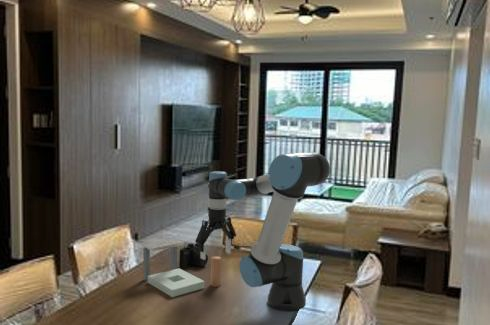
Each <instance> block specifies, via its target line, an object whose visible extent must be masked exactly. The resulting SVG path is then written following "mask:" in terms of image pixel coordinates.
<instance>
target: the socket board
mask: <svg viewBox="0 0 490 325" xmlns="http://www.w3.org/2000/svg"><path fill="white" fill-rule="evenodd" d="M147 283H148V284H149V285H151V286H153V287H154V288H156V289H157V290H160V291H161V292H163V293H164V294H166V295H168V296H169V297H171V298H175V297H178V296H181V295H185V294H189V293H193V292H196V291H199V290H203V289H205V283H206V282H205V281H204V279H201V278H199V277H197V276H195V275H193V274H191V273H190V272H187V271H185V270H183V268H180V267H177V269H174V270H171V269H170V270H166V271H163V272H162V271H161V272H158V273H154V274H151V275H149V276H148V281H147Z"/></svg>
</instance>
